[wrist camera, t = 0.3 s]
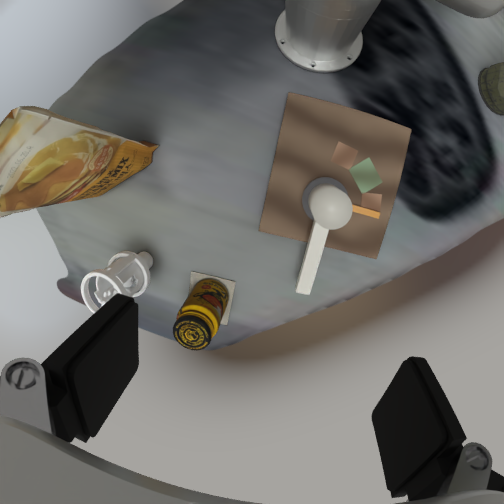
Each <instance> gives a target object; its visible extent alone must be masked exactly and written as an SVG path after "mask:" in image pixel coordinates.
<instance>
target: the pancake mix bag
mask: <svg viewBox="0 0 504 504" xmlns="http://www.w3.org/2000/svg"><path fill="white" fill-rule="evenodd" d="M158 146H159V145H156V144H152V143H149V142H146V141H139V142H136V141H133V140H129V139H126V138H124V137H121V136H118V135H115V134H113V133H111V132H107V131H103V130H101V129H100V128H98V127H96V126H92V125H89V124H85V123H82V122H78V121H75V120H72V119H69V118H66V117H63V116H60V115H58V114H55V113H53V112H51V111H49V110H47V109H44V108H39V107H35V106H20V107H18V108H15V109H13V110H11V112H10V113H9V114H8V115H7V116H6V118H5V119H4V120H3V121H2V122H1V124H0V217H4V216H7V215H10V214H12V213H17V212H23V211H27V210H31V209H34V208H37V207H43V206H49V205H54V204H59V203H64V202H69V201H75V200H81V199H86V198H92V197H98V196H101V195H102V194H104V193H105V192H107V191H108V190H110V189H112V188H113V187H115V186H116V185H118V184H119V183H121V182H122V181H124V180H125V179H127V178H129V177H130V176H132V175H133V174H135V173H137V172H139V171H141V170H142V169H144V168H145V167H146V166H148V165H149V164H150V163H152V157H153V151H154V150H155V149H156V148H157V147H158Z"/></svg>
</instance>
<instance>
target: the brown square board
mask: <svg viewBox="0 0 504 504" xmlns="http://www.w3.org/2000/svg"><path fill="white" fill-rule="evenodd" d="M410 133H411V129H409V128H407V127H404V126H402V125H399V124H396V123H394V122H391V121H388V120H386V119H383V118H380V117H377V116H374V115H371V114H368V113H365V112H362V111H359V110H355V109H352V108H349V107H346V106H342V105H339V104H335V103H331V102H328V101H324V100H320V99H316V98H312V97H308V96H304V95H299V94H295V93H290V92H289V93H288V97H287V102H286V107H285V111H284V116H283V121H282V125H281V130H280V134H279V139H278V144H277V148H276V153H275V158H274V162H273V167H272V171H271V176H270V181H269V185H268V190H267V194H266V199H265V204H264V208H263V213H262V217H261V222H260V227H259V231H261V232H265V233H269V234H274V235H278V236H282V237H287V238H291V239H295V240H299V241H304V242H308V240H309V236H310V233H311V229H312V225H313V220H312V219H311V218H309V217H308V215H307V214H306V212H305V211H304V208H303V204H302V196H303V192H304V190H305V188H306V186H307V185H308V184H309V183H310V182H311V181H313V180H315V179H317V178H321V177H329V178H333V179H335V180H337V181H339V182H340V183H341V184H342V185H343V186H344V187H345V189H346V191H347V193H348V197H349V198H350V200H351V202H352V204H353V205H357V206H360V207H364V208H367V209H371V210H374V211H378V212H380V216H379V219H377V218H374V217H370V216H367V215H363V214H360V213H356V212H352V216H351V218H350V220H349V221H348V223H347V224H346V225H344V226H343V227H341V228H339V229H334V230H330V229H329V231H328V235H327V238H326V242H325V245H324V246H325V247H329V248H333V249H337V250H341V251H345V252H349V253H353V254H357V255H361V256H365V257H369V258H373V259H377V256H378V253H379V250H380V247H381V244H382V241H383V237H384V234H385V231H386V228H387V225H388V221H389V218H390V215H391V211H392V208H393V204H394V201H395V197H396V193H397V189H398V186H399V182H400V178H401V174H402V170H403V165H404V161H405V157H406V152H407V147H408V143H409V138H410Z"/></svg>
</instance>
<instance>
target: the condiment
mask: <svg viewBox="0 0 504 504" xmlns="http://www.w3.org/2000/svg"><path fill="white" fill-rule="evenodd" d="M234 288H235V282H234V281H230V280H226V279H222V278H218V277H214V276H210V275H205V274H200V273H196V272H192V271H191V279H190V287H189V295H188V298H187V299H186V301H185V302H184V304H183V306H182V307H181V309H180V310H179V312H178V315H177V320H176V322H175V324H174V327H173V335H174V337H175V339H176V340H177V341H178V343H179V344H181V345H182V346H183V347H185V348H187V349H191V350H201V349H204V348H205V347H206V346H208V345H209V344H210V341H211V339H212V337H213V336H214V335H215V334H216V333H217V331H218V328H219V326H220V323H221V324H224V325H227V323H228V318H229V312H230V308H231V303H232V298H233V293H234Z"/></svg>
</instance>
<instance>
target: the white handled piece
mask: <svg viewBox="0 0 504 504" xmlns="http://www.w3.org/2000/svg"><path fill="white" fill-rule="evenodd" d="M302 204H303V208H304V211H305V212H306V214H307V215H308V217H309V218H311V219H312V220H313V225H312V229H311V233H310V236H309V240H308V244H307V248H306V251H305V255H304V258H303V262H302V265H301V269H300V272H299V276H298V279H297V283H296V286H295V288H296V292H298V293H302V294H307V295H310V291H311V288H312V285H313V282H314V279H315V276H316V272H317V269H318V266H319V262H320V259H321V256H322V252H323V249H324V245H325V242H326V238H327V235H328V231H329V229H330V230H334V229H339V228H341V227H343V226H344V225H346V224H347V223H348V221H349V220H350V218H351V216H352V212H356V213H360V214H363V215H367V216H370V217H374V218H377V219H379V216H380V212H378V211H374V210H371V209H367V208H364V207H360V206H357V205H353V204H352V202H351V200H350V198H349V197H348V193H347V191H346V189H345V187H344V186H343V185H342V184H341V183H340V182H339V181H337V180H335V179H333V178H329V177H321V178H317V179H315V180H313V181H311V182H310V183H309V184H308V185H307V186H306V188H305V190H304V192H303V196H302Z"/></svg>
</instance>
